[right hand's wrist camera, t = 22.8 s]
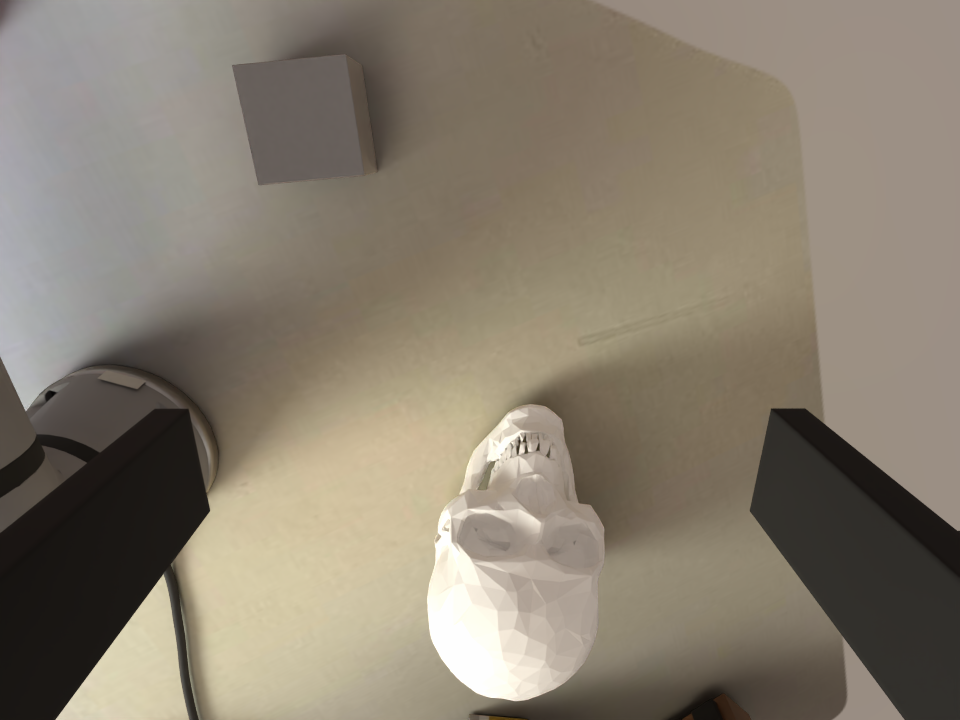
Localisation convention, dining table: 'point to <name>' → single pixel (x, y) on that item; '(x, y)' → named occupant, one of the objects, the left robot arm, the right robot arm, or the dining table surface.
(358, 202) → the dining table surface
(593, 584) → the skull
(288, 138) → the matte grey square block
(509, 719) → the toy
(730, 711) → the walnut block
